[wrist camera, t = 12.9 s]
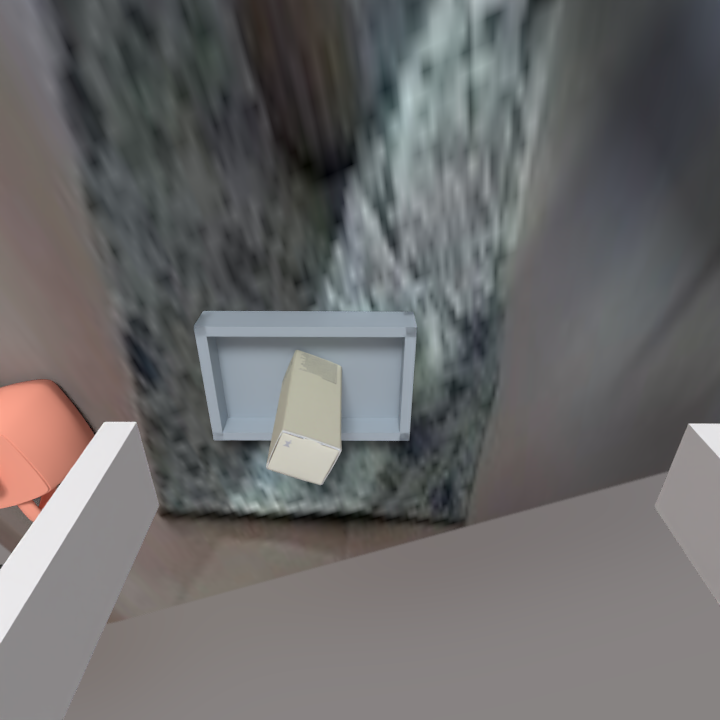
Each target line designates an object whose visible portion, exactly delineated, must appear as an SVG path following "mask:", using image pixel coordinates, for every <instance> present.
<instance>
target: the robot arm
mask: <svg viewBox="0 0 720 720" xmlns="http://www.w3.org/2000/svg"><path fill="white" fill-rule="evenodd" d="M158 507H159V503H158V499H157V496H156V492H155V488H154V485H153V481H152V477H151V474H150V470H149V466H148V463H147V459H146V455H145V451H144V448H143V444H142V440H141V437H140V433H139V429H138V426H137V422H104V423H103V424H102V426H101V427H100V429H99V430H98V431H97V433H96V434H95V436H94V437H93V439H92V440H91V441H90V443H89V444H88V446H87V447H86V449H85V450H84V451H83V453H82V454H81V456H80V457H79V458H78V460H77V461H76V463H75V464H74V466H73V467H72V468H71V470H70V471H69V473H68V474H67V475H66V477H65V478H64V480H63V481H62V483H61V484H60V485H59V487H58V488H57V490H56V491H55V493H54V494H53V495H52V497H51V498H50V500H49V501H48V502H47V504H46V505H45V507H44V508H43V510H42V511H41V512H40V514H39V515H38V517H37V518H36V519H35V521H34V522H33V524H32V525H31V527H30V528H29V529H28V531H27V532H26V534H25V535H24V537H23V538H22V539H21V541H20V542H19V544H18V545H17V546H16V548H15V549H14V551H13V552H12V554H11V555H10V556H9V558H8V559H7V561H6V562H5V563H4V565H0V720H63V718H64V716H65V714H66V712H67V710H68V707H69V705H70V703H71V701H72V699H73V696H74V694H75V692H76V690H77V687H78V685H79V683H80V681H81V678H82V676H83V674H84V672H85V669H86V667H87V665H88V663H89V661H90V658H91V656H92V654H93V652H94V650H95V647H96V645H97V643H98V641H99V638H100V636H101V634H102V632H103V629H104V627H105V625H106V623H107V621H108V618H109V616H110V614H111V612H112V609H113V607H114V605H115V603H116V601H117V598H118V596H119V594H120V592H121V589H122V587H123V585H124V583H125V580H126V578H127V576H128V574H129V572H130V569H131V567H132V565H133V563H134V560H135V558H136V556H137V554H138V552H139V549H140V547H141V545H142V543H143V540H144V538H145V536H146V534H147V531H148V529H149V527H150V525H151V523H152V520H153V518H154V516H155V514H156V511H157V509H158ZM654 507H655V509H656V510H657V512H658V513H659V515H660V516H661V518H662V519H663V521H664V522H665V524H666V525H667V527H668V528H669V530H670V531H671V533H672V534H673V536H674V537H675V539H676V540H677V542H678V543H679V545H680V546H681V548H682V550H683V551H684V552H685V554H686V556H687V557H688V559H689V560H690V562H691V563H692V565H693V566H694V568H695V569H696V571H697V572H698V574H699V575H700V576H701V578H702V580H703V581H704V583H705V584H706V586H707V587H708V589H709V590H710V592H711V593H712V595H713V596H714V598H715V599H716V601H717V602H718V604H719V605H720V424H688V426H687V428H686V431H685V433H684V436H683V438H682V440H681V443H680V445H679V448H678V450H677V452H676V455H675V457H674V460H673V462H672V465H671V467H670V469H669V472H668V474H667V477H666V479H665V482H664V484H663V486H662V489H661V491H660V494H659V496H658V498H657V501H656V503H655V506H654Z"/></svg>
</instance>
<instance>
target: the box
mask: <svg viewBox="0 0 720 720" xmlns="http://www.w3.org/2000/svg"><path fill="white" fill-rule="evenodd" d="M341 396H342V367H341V366H340V365H338V364H335V363H333V362H330V361H328V360H325V359H322V358H320V357H317V356H314V355H311V354H309V353H306V352H303V351H300V350H295V352H294V355H293V357H292V359H291V361H290V364H289V366H288V368H287V371H286V373H285V376H284V378H283V381H282V386H281V392H280V397H279V402H278V408H277V413H276V417H275V423H274V428H273V433H272V438H271V443H270V449H269V454H268V460H267V465H266V468H267V469H269V470H272V471H275V472H278V473H281V474H284V475H288V476H291V477H294V478H297V479H301V480H304V481H307V482H311V483H315V484H318V485H322V484H323V483H324V481H325V479H326V478H327V476H328V474H329V473H330V471H331V469H332V468H333V466H334V464H335V462H336V461H337V459H338V457H339V455H340V453H341V451H342V445H341Z"/></svg>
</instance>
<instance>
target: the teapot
mask: <svg viewBox="0 0 720 720" xmlns="http://www.w3.org/2000/svg"><path fill="white" fill-rule="evenodd" d="M93 437H94V433H93V431H92V430H91V428H90V427H89V425H88V424H87V422H86V421H85V419H84V418H83V417H82V415H81V414H80V413H79V411H78V410H77V408H76V407H75V406H74V405H73V403H72V402H71V401H70V400H69V398H68V397H67V396H66V395H65V394H64V392H63V391H62V390H61V389H60V388H59V387H58V386H57V384H55V383H54V382H53V381H51V380H47V379H39V380H31V381H26V382H20V383H16V384H11V385H8V386H4V387H1V388H0V509H1V508H6V507H10V506H14V505H18V507H19V508H20V509H21V510H22V512H23V513H24V514H25V515H26V516H27V517H28V518H29V519H30V520H31V521H33V522H34V521H35V519H36V518H37V517H38V515H39V514H40V512H41V511H42V510H43V508H44V507H45V505H46V504H47V502H48V501H49V500H50V498H51V497H52V495H53V494H54V493H55V491H56V490H57V485H58V484H60V483H61V482H62V481H63V480H64V478H65V477H66V475H67V474H68V473H69V471H70V470H71V468H72V467H73V466H74V464H75V463H76V461H77V460H78V458H79V457H80V456H81V454H82V453H83V451H84V450H85V449H86V447H87V446H88V444H89V443H90V441H91V440H92V439H93ZM40 496H41V500H40V504H39V507H38V506H37V505H36V504H35V503H34V501H33V499H36V498H38V497H40Z"/></svg>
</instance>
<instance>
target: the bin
mask: <svg viewBox="0 0 720 720" xmlns="http://www.w3.org/2000/svg"><path fill="white" fill-rule="evenodd" d="M194 331H195V337H196V342H197V348H198V354H199V359H200V365H201V370H202V376H203V382H204V387H205V393H206V398H207V404H208V410H209V415H210V421H211V426H212V432H213V438H214V440H271V438H272V433H273V428H274V423H275V417H276V413H277V408H278V402H279V397H280V392H281V386H282V381H283V378H284V376H285V373H286V371H287V368H288V366H289V364H290V361H291V359H292V357H293V355H294V352H295V350H300V351H303V352H306V353H309V354H311V355H314V356H317V357H320V358H322V359H325V360H328V361H330V362H333V363H335V364H338V365H340V366H341V367H342V396H341V441H409V436H410V421H411V407H412V392H413V378H414V363H415V349H416V334H417V325H416V321H415V316H414V312H352V311H203V312H202V314H201V316H200V317H199V319H198V320H197V322H196V324H195V325H194Z"/></svg>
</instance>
